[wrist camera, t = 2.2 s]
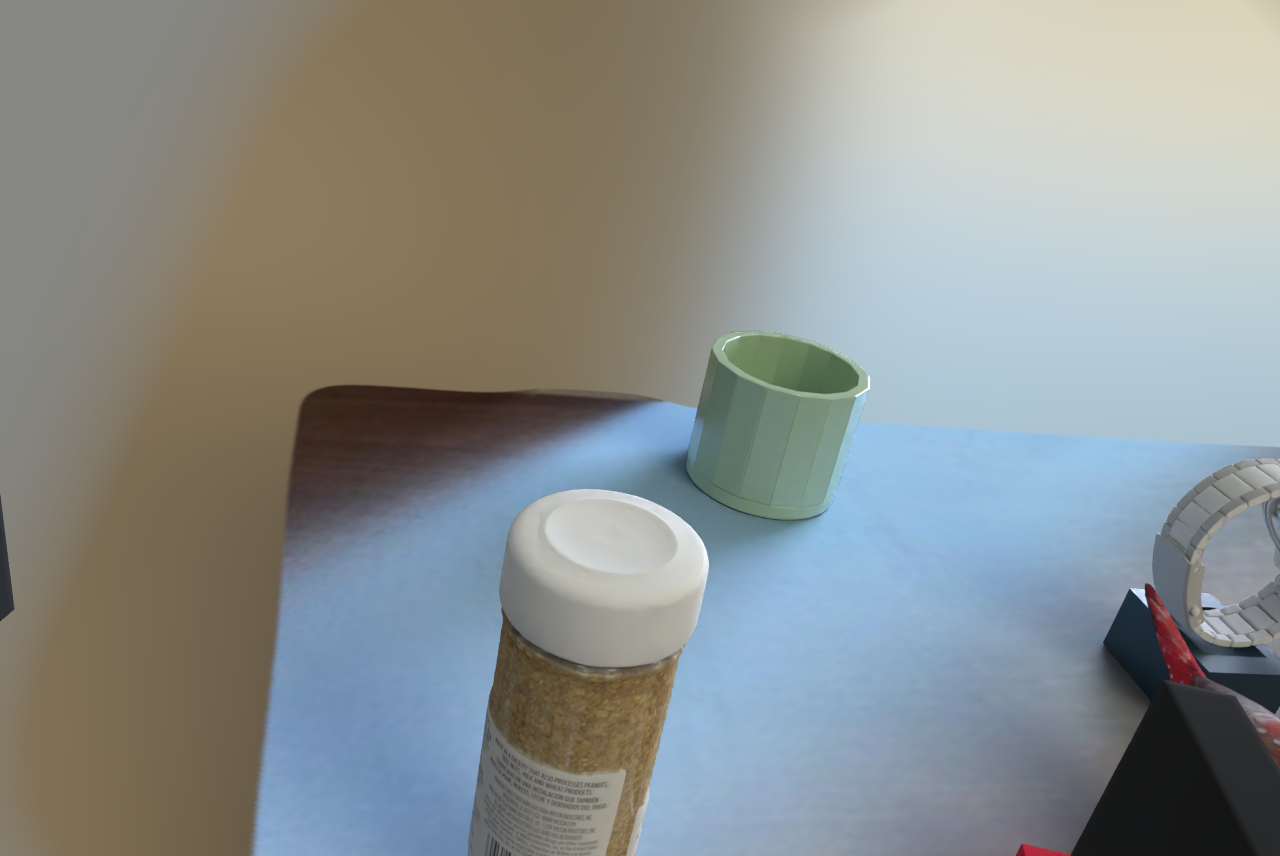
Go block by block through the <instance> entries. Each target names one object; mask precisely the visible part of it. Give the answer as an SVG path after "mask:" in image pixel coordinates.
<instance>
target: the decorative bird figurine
mask: <svg viewBox="0 0 1280 856" xmlns="http://www.w3.org/2000/svg"><path fill="white" fill-rule="evenodd" d="M1145 597H1146V601H1147V605H1148V608H1149V611H1150V616H1151V618H1152V620H1153V626H1154V628H1155V630H1156V635H1157V638H1158V641H1159V644H1160V648H1161V651H1162V654H1163V658H1164V660H1165V663H1166V667H1167V670H1168V675H1169V681H1171V682H1176V683H1180V684H1184V685H1189V686H1193V687H1198V688H1202V689H1206V690H1211V691H1215V692H1219V693H1224V694H1228V695H1233V696H1236V698H1237V699H1238V701H1239V703H1240V704H1241V706H1242V708H1243V709H1244V711H1245V713H1246V714H1247V716H1248V717H1249V719H1250V721H1251V722H1252V724H1253V726H1254V727H1255V729H1256V731H1257V732H1258V734H1259V736H1260V737H1261V739H1262V741H1263V742H1264V744H1265V745H1266V747H1267V749H1268V750H1269V752H1270V754H1271V755H1272V757H1273V759H1274V760H1275V762H1276V764H1277V765H1278V767H1279V769H1280V717H1278V716H1276V715H1275V714H1273V713H1272V712H1270V711H1269V710H1267V709H1266V708H1264V707H1263V706H1261V705H1259V704H1258V703H1256V702H1254V701H1252V700H1250V699H1248V698H1246V697H1245V696H1242V695H1241V694H1239V693H1237V692H1235V691H1233V690H1231V689H1229V688H1227V687H1225V686H1223V685H1220V684H1217V683H1215V682H1214V681H1211V680H1209V679H1208V678H1207V677H1206V676H1205V675H1204V673H1203V672H1202V671H1201V669H1200V667H1199V666H1198V664H1197V662H1196V660H1195V659H1194V657H1193V656H1192V654H1191V652H1190V650H1189V648H1188V646H1187V645H1186V643H1185V641H1184V639H1183V638H1182V637H1181V634H1180V632H1179V630H1178V628H1177V627H1176V625H1175V623H1174V621H1173V620H1172V618H1171V616H1170V614H1169V612H1168V611H1167V609H1166V608H1165V606H1164V604H1163V601H1162V600H1161V599H1160V597H1159V596H1158V594H1157V593H1156V592H1155V590H1154V588H1153V587H1152V586H1151V585H1150V584H1145Z"/></svg>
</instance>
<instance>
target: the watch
mask: <svg viewBox="0 0 1280 856" xmlns="http://www.w3.org/2000/svg"><path fill="white" fill-rule="evenodd" d="M1215 488H1216V489H1215ZM1219 491H1220V492H1221V493H1220V492H1219ZM1196 492H1197V493H1198V494H1199V495H1198V494H1197V493H1196ZM1224 495H1225V496H1226V497H1225V496H1224ZM1229 499H1230V500H1231V501H1230V500H1229ZM1196 503H1197V504H1196ZM1259 503H1261V504H1262V508H1263V516H1264V521H1265V524H1266V527H1267V529H1268V532H1269V535H1270V537H1271V539H1272V541H1273V543H1274V545H1275V558H1274V561H1275V565H1276V566H1277V567H1278V568H1279V569H1280V460H1279V459H1274V460H1273V459H1272V458H1257V459H1255V460H1253V459H1249V460H1245V461H1241V462H1238V463H1235V464H1234V465H1229V466H1227V467H1224V468H1222V469H1220V470H1218V471H1216V472H1215V473H1213V474H1212V476H1209V477H1207V478H1205V479H1204V480H1203V481H1201V482H1200V483H1199V484H1197V485H1196V486H1195V487H1194V488H1193V490H1190V491H1189V492H1188V493H1187V494H1186V495H1185V496H1184V497H1183V498H1182V499H1181V500H1180V501H1179V502H1178V504H1177V507H1174V508H1173V510H1172V511H1171V513H1170V514H1169V516H1168V518H1167V522H1166V523H1164V526H1163V528H1162V532H1161V534H1159V533H1157V534H1156V538H1155V544H1154V551H1153V564H1152V567H1153V579H1154V585H1155V592H1156V593H1157V594H1158V596H1159V597H1160V599H1161V600H1162V601H1163V604H1164V606H1165V608H1166V609H1167V611H1168V612H1169V614H1170V616H1171V618H1172V620H1173V621H1174V623H1175V625H1176V627H1177V628H1178V630H1179V632H1180V634H1181V637H1182V638H1183V639H1184V641H1185V643H1186V645H1187V646H1188V648H1189V650H1190V652H1191V654H1192V656H1193V657H1194V659H1195V660H1196V662H1197V664H1198V666H1199V667H1200V669H1201V671H1202V672H1203V673H1204V675H1205V676H1206V677H1207V678H1208V679H1209V680H1211V681H1214V682H1215V683H1217V684H1220V685H1223V686H1225V687H1227V688H1229V689H1231V690H1233V691H1235V692H1237V693H1239V694H1241V695H1242V696H1245V697H1246V698H1248V699H1250V700H1252V701H1254V702H1256V703H1258V704H1259V705H1261V706H1263V707H1264V708H1266V709H1267V710H1269V711H1270V712H1272V713H1273V714H1275V713H1276V711H1277V710H1278V708H1279V707H1280V658H1279V657H1278V656H1277V655H1276V654H1275V653H1274V652H1272V651H1271V650H1270V649H1269V648H1268V647H1267V646H1266V645H1265V644H1264V643H1267V642H1270V641H1272V640H1273V639H1278V638H1280V597H1279V596H1278V594H1279V595H1280V587H1279V586H1280V573H1279V574H1278V575H1277V576H1276V577H1275V579H1274V581H1275V582H1276V583H1277V584H1278V585H1279V586H1278V585H1277V584H1276V583H1275V582H1270V583H1269V584H1267V585H1266V586H1265V587H1264V588H1263V589H1261V590H1260V591H1259V592H1258V596H1257V595H1252V596H1250V597H1249V598H1247V599H1245V600H1243V601H1241V602H1240V603H1239V606H1238V605H1237V604H1234V605H1231V606H1228V607H1225V606H1224V605H1223V604H1222V603H1221V602H1219V601H1218V600H1217V599H1216V598H1215V597H1214V596H1213V595H1212V594H1209V593H1201V588H1202V579H1203V574H1204V568H1205V567H1204V566H1203V564H1202V563H1200V562H1201V558H1202V555H1203V552H1204V550H1205V548H1206V543H1207V542H1208V541H1209V540H1210V538H1211V536H1210V535H1209V534H1214V533H1215V532H1216V531H1217V530H1218V529H1219V528H1220V527H1221V526H1223V525H1224V524H1225V523H1226V522H1227V518H1233V517H1234V516H1236V515H1237V514H1239V513H1241V512H1242V511H1244V510H1246V509H1247V507H1248V505H1249V506H1250V507H1252V506H1255V505H1257V504H1259ZM1200 506H1201V507H1202V508H1203V509H1204V510H1203V509H1202V508H1201V507H1200ZM1179 508H1180V509H1181V510H1180V509H1179ZM1206 511H1207V512H1208V513H1209V514H1210V515H1209V514H1208V513H1207V512H1206ZM1224 515H1225V516H1226V517H1227V518H1226V517H1225V516H1224ZM1208 533H1209V534H1208ZM1260 598H1261V599H1262V600H1261V599H1260ZM1263 611H1264V612H1265V613H1264V612H1263ZM1273 620H1274V621H1275V622H1274V621H1273ZM1272 638H1273V639H1272ZM1103 643H1104V644H1105V646H1106V647H1107V648H1108V649H1109V650H1110V652H1111V653H1112V654H1113V655H1114V656H1115V657H1116V659H1117V660H1118V661H1119V662H1120V663H1121V665H1122V666H1123V667H1124V668H1125V669H1126V670H1127V672H1128V673H1129V674H1130V675H1131V676H1132V677H1133V679H1134V680H1135V681H1136V682H1137V683H1138V685H1139V686H1140V687H1141V688H1142V689H1143V690H1144V692H1145V693H1146V694H1147V695H1148V696H1149V698H1150V699H1151V700H1153V698H1154V696H1155V694H1156V692H1157V690H1158V689H1159V687H1160V685H1161V683H1162V681H1163V680H1167V681H1169V675H1168V670H1167V667H1166V663H1165V660H1164V658H1163V654H1162V651H1161V648H1160V644H1159V641H1158V638H1157V635H1156V630H1155V628H1154V626H1153V620H1152V618H1151V616H1150V611H1149V608H1148V605H1147V601H1146V597H1145V589H1129V591H1128V593H1127V595H1126V597H1125V599H1124V601H1123V603H1122V605H1121V607H1120V610H1119V612H1118V614H1117V616H1116V618H1115V620H1114V622H1113V624H1112V626H1111V628H1110V630H1109V632H1108V634H1107V636H1106V638H1105V640H1104V642H1103Z"/></svg>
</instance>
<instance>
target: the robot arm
mask: <svg viewBox="0 0 1280 856" xmlns="http://www.w3.org/2000/svg"><path fill="white" fill-rule="evenodd" d="M13 610H14V603H13V594H12V586H11V578H10V570H9V562H8V554H7V546H6V538H5V529H4V521H3V513H2V506H1V497H0V621H1V620H2V619H3V618H5V617H6V616H7V615H8V614H9V613H10V612H11V611H13ZM1070 856H1280V769H1279V767H1278V765H1277V764H1276V762H1275V760H1274V759H1273V757H1272V755H1271V754H1270V752H1269V750H1268V749H1267V747H1266V745H1265V744H1264V742H1263V741H1262V739H1261V737H1260V736H1259V734H1258V732H1257V731H1256V729H1255V727H1254V726H1253V724H1252V722H1251V721H1250V719H1249V717H1248V716H1247V714H1246V713H1245V711H1244V709H1243V708H1242V706H1241V704H1240V703H1239V701H1238V699H1237V698H1236V696H1233V695H1228V694H1224V693H1219V692H1215V691H1211V690H1206V689H1202V688H1198V687H1193V686H1189V685H1184V684H1180V683H1176V682H1171V681H1167V680H1163V681H1162V683H1161V685H1160V687H1159V689H1158V690H1157V692H1156V694H1155V696H1154V698H1153V700H1152V702H1151V704H1150V706H1149V708H1148V709H1147V711H1146V713H1145V715H1144V717H1143V719H1142V721H1141V723H1140V725H1139V726H1138V728H1137V730H1136V732H1135V734H1134V736H1133V738H1132V740H1131V742H1130V744H1129V745H1128V747H1127V749H1126V751H1125V753H1124V755H1123V757H1122V759H1121V761H1120V762H1119V764H1118V766H1117V768H1116V770H1115V772H1114V774H1113V776H1112V778H1111V780H1110V781H1109V783H1108V785H1107V787H1106V789H1105V791H1104V793H1103V795H1102V797H1101V798H1100V800H1099V802H1098V804H1097V806H1096V808H1095V810H1094V812H1093V814H1092V816H1091V817H1090V819H1089V821H1088V823H1087V825H1086V827H1085V829H1084V831H1083V833H1082V835H1081V836H1080V838H1079V840H1078V842H1077V844H1076V846H1075V848H1074V850H1073V852H1072V853H1071V855H1070Z"/></svg>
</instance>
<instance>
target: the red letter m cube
mask: <svg viewBox="0 0 1280 856" xmlns="http://www.w3.org/2000/svg"><path fill="white" fill-rule="evenodd" d="M1016 856H1070V854H1066V853H1061V852H1057V851H1052V850H1048V849H1043V848H1039V847H1034V846H1030V845H1026V844H1021V846H1020V848H1019V850H1018V852H1017V854H1016Z"/></svg>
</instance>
